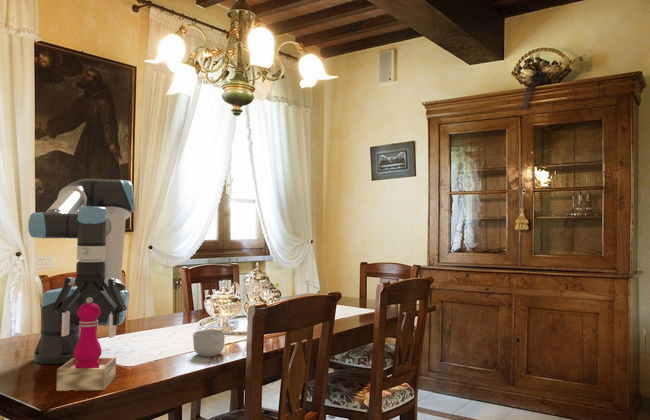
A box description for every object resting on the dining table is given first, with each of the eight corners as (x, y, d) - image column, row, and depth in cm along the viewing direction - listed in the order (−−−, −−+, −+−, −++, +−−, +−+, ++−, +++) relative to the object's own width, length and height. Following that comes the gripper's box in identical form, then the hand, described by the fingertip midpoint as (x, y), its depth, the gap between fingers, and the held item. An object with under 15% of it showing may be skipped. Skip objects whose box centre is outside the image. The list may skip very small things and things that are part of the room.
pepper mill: (72, 373, 146) (75, 299, 146) (73, 366, 152) (75, 296, 153) (101, 370, 149) (103, 298, 149) (100, 364, 155) (102, 295, 156)
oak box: (56, 390, 144) (57, 369, 144) (71, 377, 156) (72, 358, 156) (103, 389, 145) (104, 368, 145) (115, 377, 157) (116, 357, 157)
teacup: (216, 359, 179) (217, 335, 179) (186, 357, 181) (187, 333, 182) (232, 350, 193) (232, 328, 193) (204, 348, 195) (204, 326, 195)
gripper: (40, 260, 148) (38, 337, 148) (128, 262, 147) (126, 340, 146) (55, 258, 156) (53, 332, 155) (139, 260, 154) (137, 334, 154)
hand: (88, 336), depth 151 cm, fingers open, 13 cm apart
